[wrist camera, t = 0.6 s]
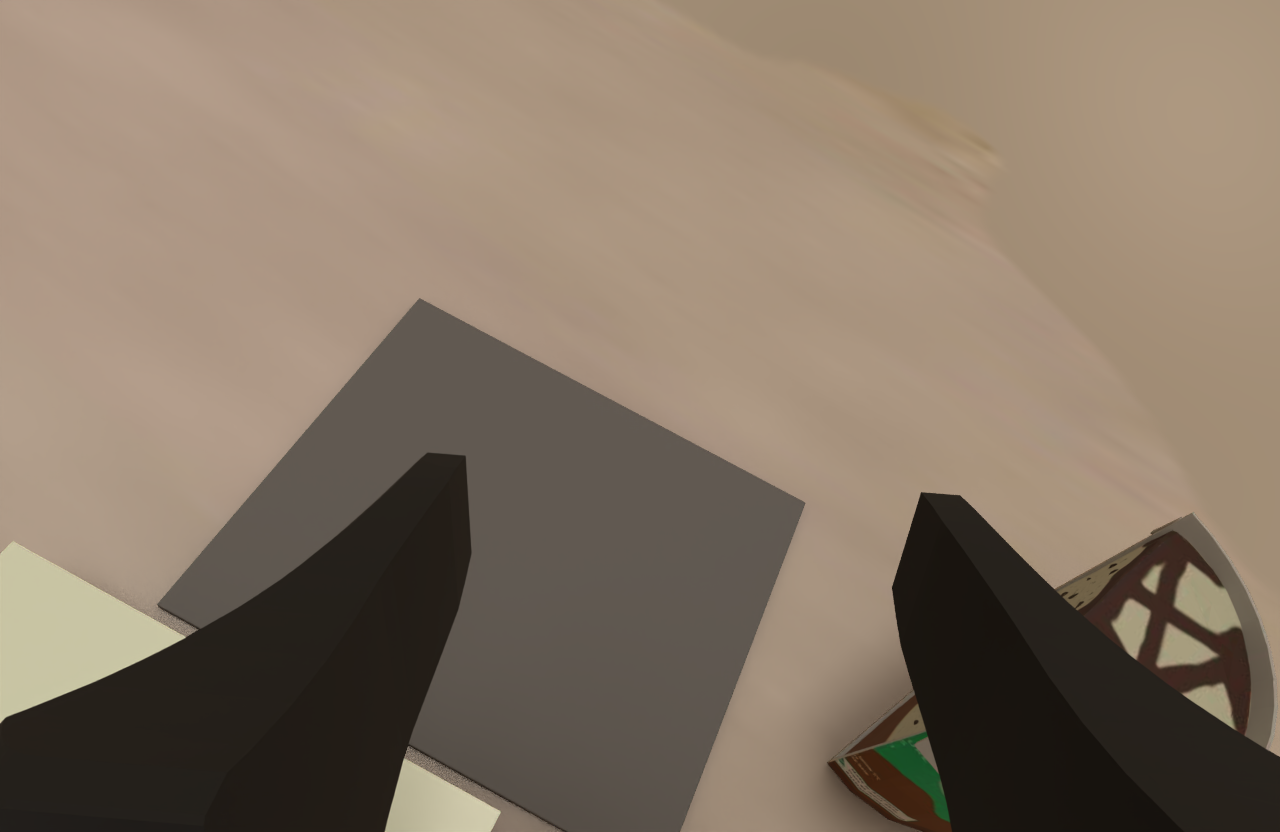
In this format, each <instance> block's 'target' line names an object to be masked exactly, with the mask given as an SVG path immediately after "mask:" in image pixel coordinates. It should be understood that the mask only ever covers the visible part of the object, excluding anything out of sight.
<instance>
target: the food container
mask: <svg viewBox="0 0 1280 832" xmlns="http://www.w3.org/2000/svg"><path fill="white" fill-rule="evenodd" d="M1151 534H1152V535H1151V536H1149V537H1147V538H1145V539H1143V540H1142V541H1140V542H1138V543H1136V544H1135V545H1133V546H1131V547H1129V548H1127V549H1126V550H1124V551H1122V552H1120V553H1118V554H1117V555H1115V556H1113V557H1111V558H1109V559H1108V560H1106V561H1104V562H1102V563H1101V564H1099V565H1097V566H1095V567H1093V568H1092V569H1090V570H1088V571H1086V572H1084V573H1083V574H1081V575H1079V576H1077V577H1075V578H1074V579H1072V580H1070V581H1068V582H1066V583H1065V584H1063V585H1061V586H1059V587H1058V588H1056V589H1054V590H1056V591H1057V592H1058V593H1059V594H1060V595H1061V596H1062V597H1063V598H1064V599H1065V600H1066V601H1067V602H1068V603H1070V604H1071V605H1072V606H1073V607H1074V608H1075V609H1076V610H1077V611H1078V612H1080V613H1081V614H1082V615H1083V616H1084V617H1085V618H1086V619H1088V620H1089V621H1090V622H1091V623H1092V624H1093V625H1094V626H1096V627H1097V628H1098V629H1099V630H1100V631H1101V632H1102V633H1103V634H1105V635H1106V636H1107V637H1108V638H1109V639H1111V640H1112V641H1113V642H1114V643H1115V644H1117V645H1118V646H1119V647H1120V648H1122V649H1123V650H1124V651H1125V652H1127V653H1128V654H1129V655H1130V656H1132V657H1133V658H1134V659H1136V660H1137V661H1138V662H1140V663H1141V664H1142V665H1144V666H1145V667H1146V668H1147V669H1149V670H1150V671H1151V672H1153V673H1154V674H1155V675H1157V676H1158V677H1159V678H1161V679H1162V680H1163V681H1164V682H1166V683H1167V684H1169V685H1170V686H1171V687H1173V688H1174V689H1176V690H1177V691H1178V692H1180V693H1181V694H1183V695H1184V696H1185V697H1187V698H1188V699H1190V700H1191V701H1193V702H1194V703H1196V704H1197V705H1199V706H1200V707H1202V708H1203V709H1205V710H1206V711H1208V712H1209V713H1211V714H1212V715H1214V716H1215V717H1217V718H1218V719H1220V720H1221V721H1223V722H1224V723H1226V724H1227V725H1229V726H1230V727H1232V728H1233V729H1235V730H1236V731H1238V732H1239V733H1241V734H1243V735H1244V736H1246V737H1248V738H1249V739H1251V740H1252V741H1254V742H1256V743H1257V744H1259V745H1261V746H1262V747H1264V748H1265V749H1267V750H1269V751H1270V748H1271V745H1272V741H1273V738H1274V735H1275V726H1276V718H1277V709H1278V703H1277V680H1276V673H1275V668H1274V663H1273V657H1272V652H1271V647H1270V644H1269V641H1268V638H1267V635H1266V632H1265V629H1264V626H1263V622H1262V619H1261V617H1260V614H1259V612H1258V610H1257V608H1256V606H1255V603H1254V601H1253V599H1252V597H1251V594H1250V592H1249V590H1248V588H1247V586H1246V585H1245V583H1244V581H1243V579H1242V578H1241V576H1240V574H1239V573H1238V571H1237V569H1236V567H1235V566H1234V564H1233V562H1232V560H1231V559H1230V558H1229V556H1228V555H1227V554H1226V552H1225V551H1224V549H1223V548H1222V547H1221V545H1220V544H1219V543H1218V541H1217V540H1216V538H1215V537H1214V536H1213V534H1212V533H1211V532H1210V531H1209V530H1208V529H1207V527H1206V526H1205V525H1204V524H1203V523H1202V522H1201V520H1200V519H1199V518H1198V517H1197V516H1196V515H1195V514H1194V512H1193V513H1191V514H1189V515H1187V516H1185V517H1183V518H1182V517H1180V518H1178V519H1176V520H1174V521H1172V522H1170V523H1168V524H1166V525H1164V526H1162V527H1160V528H1158V529H1155V530H1153V531H1152V532H1151ZM827 763H828V764H829V766H830V767H831V768H832V769H833V771H834V772H835V773H836V774H837V775H838V777H839V778H840V779H841V780H842V782H843V783H844V784H845V785H846V786H847V788H848V789H849V790H850V791H851V792H852V793H854V794H855V795H856V796H858V797H859V798H860V799H862V800H863V801H864V802H866V803H867V804H868V805H870V806H871V807H872V808H874V809H875V810H876V811H878V812H879V813H880V814H882V815H883V816H884V817H886V818H887V819H889V820H892V821H895V822H897V823H900V824H903V825H906V826H909V827H911V828H914V829H917V830H920V831H923V832H952V829H951V824H950V819H949V814H948V808H947V803H946V799H945V795H944V791H943V787H942V783H941V780H940V776H939V772H938V769H937V765H936V762H935V759H934V755H933V752H932V749H931V746H930V742H929V739H928V736H927V732H926V729H925V726H924V722H923V719H922V716H921V712H920V709H919V706H918V703H917V699H916V696H915V693H914V690H912V691H911V692H910V693H909V694H908V695H906V696H905V697H904V698H903V699H902V700H901V701H899V702H898V703H897V704H896V705H895V706H894V707H892V708H891V709H890V710H889V711H888V712H886V713H885V714H884V715H883V716H882V717H881V718H879V719H878V720H877V721H876V722H875V723H873V724H872V725H871V726H870V727H869V728H868V729H866V730H865V731H864V732H863V733H862V734H860V735H859V736H858V737H857V738H856V739H855V740H853V741H852V742H851V743H850V744H849V745H848V746H846V747H845V748H844V749H843V750H842V751H840V752H839V753H838V754H837V755H836V756H835V757H833V758H832V759H831V760H830V761H829V762H827Z"/></svg>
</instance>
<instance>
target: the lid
mask: <svg viewBox="0 0 1280 832" xmlns="http://www.w3.org/2000/svg"><path fill="white" fill-rule="evenodd" d="M184 638H186V637H185V636H183V635H181V634H179V633H178V632H176V631H174V630H172V629H170V628H169V627H167V626H165V625H163V624H161V623H160V622H158V621H156V620H154V619H152V618H150V617H149V616H147V615H145V614H143V613H141V612H140V611H138V610H136V609H134V608H132V607H131V606H129V605H127V604H125V603H123V602H122V601H120V600H118V599H116V598H114V597H113V596H111V595H109V594H107V593H105V592H104V591H102V590H100V589H98V588H96V587H95V586H93V585H91V584H89V583H87V582H85V581H84V580H82V579H80V578H78V577H76V576H75V575H73V574H71V573H69V572H67V571H66V570H64V569H62V568H60V567H58V566H57V565H55V564H53V563H51V562H49V561H48V560H46V559H44V558H42V557H40V556H39V555H37V554H35V553H33V552H31V551H30V550H28V549H26V548H24V547H22V546H21V545H19V544H17V543H15V542H12V543H11V544H10V545H9V546H8V547H7V548H6V549H5V550H3V551H2V552H1V553H0V723H1V722H2V721H3V720H4V719H5V717H7V716H10V715H13V714H15V713H18V712H21V711H23V710H26V709H29V708H31V707H33V706H36V705H38V704H41V703H43V702H46V701H48V700H51V699H53V698H56V697H58V696H61V695H63V694H66V693H68V692H71V691H73V690H76V689H78V688H81V687H83V686H86V685H88V684H90V683H93V682H95V681H97V680H99V679H102V678H104V677H106V676H108V675H111V674H113V673H115V672H117V671H119V670H121V669H124V668H126V667H128V666H130V665H132V664H134V663H136V662H138V661H141V660H143V659H145V658H147V657H149V656H151V655H153V654H155V653H157V652H159V651H161V650H163V649H165V648H167V647H169V646H171V645H173V644H174V643H176V642H178V641H180V640H182V639H184ZM500 813H501V811H499V810H497V809H495V808H493V807H492V806H490V805H488V804H486V803H484V802H483V801H481V800H479V799H477V798H475V797H474V796H472V795H470V794H468V793H466V792H465V791H463V790H461V789H459V788H457V787H456V786H454V785H452V784H450V783H448V782H447V781H445V780H443V779H441V778H439V777H438V776H436V775H434V774H432V773H430V772H428V771H427V770H425V769H423V768H421V767H419V766H418V765H416V764H414V763H412V762H410V761H409V760H407V759H405V758H404V760H403V764H402V768H401V771H400V775H399V779H398V783H397V786H396V790H395V794H394V798H393V802H392V805H391V809H390V813H389V817H388V821H387V825H386V829H385V832H491V830H492V828H493V826H494V824H495V822H496V820H497V818H498V817H499V815H500Z"/></svg>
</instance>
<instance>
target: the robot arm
mask: <svg viewBox="0 0 1280 832" xmlns="http://www.w3.org/2000/svg"><path fill="white" fill-rule="evenodd" d="M471 554H472V550H471V534H470V517H469V501H468V485H467V468H466V455H453V454H441V453H429V452H428V453H426V454H425V455H424V456H423V457H421V458H420V459H419V460H418V461H417V462H416V463H415V464H414V465H413V466H412V467H411V468H410V469H409V470H408V471H407V472H406V473H404V474H403V475H402V476H401V477H400V478H399V479H398V480H397V481H396V482H395V483H394V484H393V485H392V486H391V487H390V488H389V489H388V490H387V491H386V492H385V493H384V494H382V495H381V496H380V497H379V498H378V499H377V500H376V501H375V502H374V503H373V504H372V505H371V506H369V507H368V508H367V509H366V510H365V511H364V512H363V513H362V514H361V515H359V516H358V517H357V518H356V519H355V520H354V521H353V522H352V523H350V524H349V525H348V526H347V527H346V528H345V529H344V530H342V531H341V532H340V533H339V534H338V535H337V536H335V537H334V538H333V539H332V540H330V541H329V542H328V543H327V544H325V545H324V546H323V547H322V548H320V549H319V550H318V551H317V552H316V553H314V554H313V555H312V556H311V557H309V558H308V559H307V560H306V561H304V562H303V563H302V564H301V565H299V566H298V567H297V568H295V569H294V570H293V571H291V572H290V573H288V574H287V575H286V576H284V577H283V578H282V579H280V580H279V581H277V582H276V583H275V584H273V585H272V586H270V587H269V588H267V589H265V590H264V591H262V592H261V593H259V594H258V595H256V596H255V597H253V598H252V599H250V600H249V601H247V602H246V603H244V604H243V605H241V606H239V607H238V608H236V609H234V610H233V611H231V612H229V613H227V614H226V615H224V616H222V617H220V618H219V619H217V620H215V621H213V622H212V623H210V624H208V625H206V626H205V627H203V628H201V629H200V630H198V631H196V632H194V633H193V634H191V635H189V636H187V637H186V638H184V639H182V640H180V641H178V642H176V643H174V644H173V645H171V646H169V647H167V648H165V649H163V650H161V651H159V652H157V653H155V654H153V655H151V656H149V657H147V658H145V659H143V660H141V661H138V662H136V663H134V664H132V665H130V666H128V667H126V668H124V669H121V670H119V671H117V672H115V673H113V674H111V675H108V676H106V677H104V678H102V679H99V680H97V681H95V682H93V683H90V684H88V685H86V686H83V687H81V688H78V689H76V690H73V691H71V692H68V693H66V694H63V695H61V696H58V697H56V698H53V699H51V700H48V701H46V702H43V703H41V704H38V705H36V706H33V707H31V708H29V709H26V710H23V711H21V712H18V713H15V714H13V715H10V716H7V717H5V719H4V720H3V721H2V722H1V723H0V832H385V829H386V825H387V821H388V817H389V813H390V809H391V805H392V802H393V798H394V794H395V790H396V786H397V783H398V779H399V775H400V771H401V768H402V764H403V760H404V756H405V753H406V750H407V747H408V744H409V741H410V738H411V735H412V732H413V729H414V726H415V724H416V721H417V719H418V716H419V713H420V711H421V708H422V705H423V703H424V700H425V697H426V695H427V692H428V690H429V687H430V684H431V682H432V679H433V676H434V674H435V671H436V668H437V666H438V663H439V660H440V658H441V655H442V653H443V650H444V647H445V644H446V642H447V639H448V636H449V634H450V631H451V628H452V626H453V623H454V620H455V617H456V615H457V612H458V609H459V605H460V601H461V597H462V593H463V589H464V585H465V581H466V576H467V572H468V567H469V563H470V558H471ZM892 591H893V598H894V605H895V613H896V620H897V626H898V631H899V637H900V643H901V648H902V651H903V655H904V658H905V662H906V665H907V669H908V672H909V676H910V679H911V682H912V686H913V689H914V693H915V696H916V699H917V703H918V706H919V709H920V712H921V716H922V719H923V722H924V726H925V729H926V732H927V736H928V739H929V742H930V746H931V749H932V752H933V755H934V759H935V762H936V765H937V769H938V772H939V776H940V780H941V783H942V787H943V791H944V795H945V799H946V803H947V808H948V814H949V819H950V824H951V829H952V832H1280V757H1279V756H1277V755H1275V754H1274V753H1272V752H1270V751H1269V750H1267V749H1265V748H1264V747H1262V746H1261V745H1259V744H1257V743H1256V742H1254V741H1252V740H1251V739H1249V738H1248V737H1246V736H1244V735H1243V734H1241V733H1239V732H1238V731H1236V730H1235V729H1233V728H1232V727H1230V726H1229V725H1227V724H1226V723H1224V722H1223V721H1221V720H1220V719H1218V718H1217V717H1215V716H1214V715H1212V714H1211V713H1209V712H1208V711H1206V710H1205V709H1203V708H1202V707H1200V706H1199V705H1197V704H1196V703H1194V702H1193V701H1191V700H1190V699H1188V698H1187V697H1185V696H1184V695H1183V694H1181V693H1180V692H1178V691H1177V690H1176V689H1174V688H1173V687H1171V686H1170V685H1169V684H1167V683H1166V682H1164V681H1163V680H1162V679H1161V678H1159V677H1158V676H1157V675H1155V674H1154V673H1153V672H1151V671H1150V670H1149V669H1147V668H1146V667H1145V666H1144V665H1142V664H1141V663H1140V662H1138V661H1137V660H1136V659H1134V658H1133V657H1132V656H1130V655H1129V654H1128V653H1127V652H1125V651H1124V650H1123V649H1122V648H1120V647H1119V646H1118V645H1117V644H1115V643H1114V642H1113V641H1112V640H1111V639H1109V638H1108V637H1107V636H1106V635H1105V634H1103V633H1102V632H1101V631H1100V630H1099V629H1098V628H1097V627H1096V626H1094V625H1093V624H1092V623H1091V622H1090V621H1089V620H1088V619H1086V618H1085V617H1084V616H1083V615H1082V614H1081V613H1080V612H1078V611H1077V610H1076V609H1075V608H1074V607H1073V606H1072V605H1071V604H1070V603H1068V602H1067V601H1066V600H1065V599H1064V598H1063V597H1062V596H1061V595H1060V594H1059V593H1058V592H1057V591H1056V590H1054V589H1053V588H1052V587H1051V586H1050V585H1049V584H1048V583H1047V582H1046V581H1045V580H1044V579H1043V578H1042V577H1041V576H1040V575H1039V574H1038V573H1037V572H1036V571H1035V570H1034V569H1033V568H1032V567H1031V566H1030V565H1029V564H1028V563H1027V562H1026V561H1025V560H1024V559H1023V558H1022V557H1021V556H1020V555H1019V554H1018V553H1017V552H1016V551H1015V550H1014V549H1013V548H1012V547H1011V546H1010V545H1009V544H1008V543H1007V542H1006V541H1005V540H1004V539H1003V538H1002V537H1001V536H1000V535H999V534H998V533H997V532H996V531H995V530H994V529H993V528H992V527H991V526H990V525H989V524H988V522H987V521H986V520H985V519H984V518H983V517H982V516H981V515H980V514H979V513H978V512H977V511H976V510H975V509H974V508H973V507H972V506H971V505H970V504H969V503H968V502H967V501H965V500H964V499H963V498H962V497H961V496H960V495H948V494H936V493H923V492H921V495H920V498H919V501H918V504H917V508H916V511H915V514H914V518H913V521H912V524H911V527H910V531H909V534H908V537H907V540H906V544H905V547H904V550H903V553H902V557H901V560H900V563H899V567H898V570H897V573H896V576H895V580H894V583H893V586H892Z"/></svg>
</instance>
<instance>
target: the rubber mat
mask: <svg viewBox="0 0 1280 832" xmlns="http://www.w3.org/2000/svg"><path fill="white" fill-rule="evenodd" d="M428 452H429V453H441V454H453V455H466V468H467V485H468V501H469V517H470V534H471V550H472V554H471V558H470V563H469V567H468V572H467V576H466V581H465V585H464V589H463V593H462V597H461V601H460V605H459V609H458V612H457V615H456V617H455V620H454V623H453V626H452V628H451V631H450V634H449V636H448V639H447V642H446V644H445V647H444V650H443V653H442V655H441V658H440V660H439V663H438V666H437V668H436V671H435V674H434V676H433V679H432V682H431V684H430V687H429V690H428V692H427V695H426V697H425V700H424V703H423V705H422V708H421V711H420V713H419V716H418V719H417V721H416V724H415V726H414V729H413V732H412V735H411V738H410V741H409V744H408V745H409V746H411V747H413V748H414V749H416V750H418V751H420V752H422V753H423V754H425V755H427V756H429V757H431V758H432V759H434V760H436V761H438V762H440V763H441V764H443V765H445V766H447V767H449V768H450V769H452V770H454V771H456V772H458V773H460V774H461V775H463V776H465V777H467V778H469V779H470V780H472V781H474V782H476V783H478V784H479V785H481V786H483V787H485V788H487V789H488V790H490V791H492V792H494V793H496V794H497V795H499V796H501V797H503V798H505V799H507V800H508V801H510V802H512V803H514V804H516V805H517V806H519V807H521V808H523V809H525V810H526V811H528V812H530V813H532V814H534V815H535V816H537V817H539V818H541V819H543V820H544V821H546V822H548V823H550V824H552V825H554V826H555V827H557V828H559V829H561V830H563V831H564V832H680V830H681V828H682V825H683V822H684V820H685V817H686V815H687V812H688V809H689V807H690V804H691V801H692V799H693V796H694V794H695V791H696V788H697V786H698V783H699V781H700V778H701V775H702V773H703V770H704V767H705V765H706V762H707V760H708V757H709V754H710V752H711V749H712V746H713V744H714V741H715V739H716V736H717V733H718V731H719V728H720V726H721V723H722V720H723V718H724V715H725V712H726V710H727V707H728V705H729V702H730V699H731V697H732V694H733V691H734V689H735V686H736V684H737V681H738V678H739V676H740V673H741V670H742V668H743V665H744V663H745V660H746V657H747V655H748V652H749V650H750V647H751V644H752V642H753V639H754V636H755V634H756V631H757V629H758V626H759V623H760V621H761V618H762V615H763V613H764V610H765V608H766V605H767V602H768V600H769V597H770V595H771V592H772V589H773V587H774V584H775V581H776V579H777V576H778V574H779V571H780V568H781V566H782V563H783V560H784V558H785V555H786V553H787V550H788V547H789V545H790V542H791V539H792V537H793V534H794V532H795V529H796V526H797V524H798V521H799V519H800V516H801V513H802V511H803V508H804V505H805V502H803V501H801V500H799V499H797V498H796V497H794V496H792V495H790V494H788V493H786V492H784V491H782V490H780V489H779V488H777V487H775V486H773V485H771V484H769V483H767V482H765V481H763V480H762V479H760V478H758V477H756V476H754V475H752V474H750V473H748V472H746V471H745V470H743V469H741V468H739V467H737V466H735V465H733V464H731V463H729V462H728V461H726V460H724V459H722V458H720V457H718V456H716V455H714V454H712V453H711V452H709V451H707V450H705V449H703V448H701V447H699V446H697V445H695V444H694V443H692V442H690V441H688V440H686V439H684V438H682V437H680V436H679V435H677V434H675V433H673V432H671V431H669V430H667V429H665V428H663V427H662V426H660V425H658V424H656V423H654V422H652V421H650V420H648V419H646V418H645V417H643V416H641V415H639V414H637V413H635V412H633V411H631V410H629V409H628V408H626V407H624V406H622V405H620V404H618V403H616V402H614V401H612V400H611V399H609V398H607V397H605V396H603V395H601V394H599V393H597V392H595V391H594V390H592V389H590V388H588V387H586V386H584V385H582V384H580V383H578V382H577V381H575V380H573V379H571V378H569V377H567V376H565V375H563V374H561V373H560V372H558V371H556V370H554V369H552V368H550V367H548V366H546V365H545V364H543V363H541V362H539V361H537V360H535V359H533V358H531V357H529V356H528V355H526V354H524V353H522V352H520V351H518V350H516V349H514V348H512V347H511V346H509V345H507V344H505V343H503V342H501V341H499V340H497V339H495V338H494V337H492V336H490V335H488V334H486V333H484V332H482V331H480V330H478V329H477V328H475V327H473V326H471V325H469V324H467V323H465V322H463V321H461V320H460V319H458V318H456V317H454V316H452V315H450V314H448V313H446V312H444V311H443V310H441V309H439V308H437V307H435V306H433V305H431V304H429V303H427V302H426V301H424V300H422V299H420V298H419V299H418V301H417V302H416V303H415V304H414V305H413V306H412V308H411V309H410V310H409V311H408V312H407V313H406V315H405V316H404V317H403V318H402V319H401V320H400V322H399V323H398V324H397V325H396V326H395V327H394V329H393V330H392V331H391V332H390V333H389V334H388V336H387V337H386V338H385V339H384V340H383V341H382V343H381V344H380V345H379V346H378V347H377V348H376V350H375V351H374V352H373V353H372V354H371V355H370V357H369V358H368V359H367V360H366V361H365V362H364V364H363V365H362V366H361V367H360V368H359V369H358V371H357V372H356V373H355V374H354V375H353V376H352V378H351V379H350V380H349V381H348V382H347V383H346V385H345V386H344V387H343V388H342V389H341V390H340V392H339V393H338V394H337V395H336V396H335V397H334V399H333V400H332V401H331V402H330V403H329V404H328V406H327V407H326V408H325V409H324V410H323V411H322V413H321V414H320V415H319V416H318V417H317V418H316V420H315V421H314V422H313V423H312V424H311V425H310V427H309V428H308V429H307V430H306V431H305V432H304V434H303V435H302V436H301V437H300V438H299V439H298V441H297V442H296V443H295V444H294V445H293V446H292V448H291V449H290V450H289V451H288V452H287V453H286V455H285V456H284V457H283V458H282V459H281V460H280V462H279V463H278V464H277V465H276V466H275V467H274V469H273V470H272V471H271V472H270V473H269V474H268V476H267V477H266V478H265V479H264V480H263V481H262V483H261V484H260V485H259V486H258V487H257V488H256V490H255V491H254V492H253V493H252V494H251V495H250V497H249V498H248V499H247V500H246V501H245V502H244V504H243V505H242V506H241V507H240V508H239V509H238V511H237V512H236V513H235V514H234V515H233V516H232V518H231V519H230V520H229V521H228V522H227V523H226V525H225V526H224V527H223V528H222V529H221V530H220V532H219V533H218V534H217V535H216V536H215V537H214V539H213V540H212V541H211V542H210V543H209V544H208V546H207V547H206V548H205V549H204V550H203V551H202V553H201V554H200V555H199V556H198V557H197V558H196V560H195V561H194V562H193V563H192V564H191V566H190V567H189V568H188V569H187V570H186V571H185V573H184V574H183V575H182V576H181V577H180V578H179V580H178V581H177V582H176V583H175V584H174V585H173V587H172V588H171V589H170V590H169V591H168V592H167V594H166V595H165V596H164V597H163V598H162V599H161V601H160V602H159V603H158V604H157V605H158V606H159V608H161V609H163V610H165V611H167V612H168V613H170V614H172V615H174V616H176V617H178V618H179V619H181V620H183V621H185V622H187V623H188V624H190V625H192V626H194V627H196V628H197V629H199V630H200V629H201V628H203V627H205V626H206V625H208V624H210V623H212V622H213V621H215V620H217V619H219V618H220V617H222V616H224V615H226V614H227V613H229V612H231V611H233V610H234V609H236V608H238V607H239V606H241V605H243V604H244V603H246V602H247V601H249V600H250V599H252V598H253V597H255V596H256V595H258V594H259V593H261V592H262V591H264V590H265V589H267V588H269V587H270V586H272V585H273V584H275V583H276V582H277V581H279V580H280V579H282V578H283V577H284V576H286V575H287V574H288V573H290V572H291V571H293V570H294V569H295V568H297V567H298V566H299V565H301V564H302V563H303V562H304V561H306V560H307V559H308V558H309V557H311V556H312V555H313V554H314V553H316V552H317V551H318V550H319V549H320V548H322V547H323V546H324V545H325V544H327V543H328V542H329V541H330V540H332V539H333V538H334V537H335V536H337V535H338V534H339V533H340V532H341V531H342V530H344V529H345V528H346V527H347V526H348V525H349V524H350V523H352V522H353V521H354V520H355V519H356V518H357V517H358V516H359V515H361V514H362V513H363V512H364V511H365V510H366V509H367V508H368V507H369V506H371V505H372V504H373V503H374V502H375V501H376V500H377V499H378V498H379V497H380V496H381V495H382V494H384V493H385V492H386V491H387V490H388V489H389V488H390V487H391V486H392V485H393V484H394V483H395V482H396V481H397V480H398V479H399V478H400V477H401V476H402V475H403V474H404V473H406V472H407V471H408V470H409V469H410V468H411V467H412V466H413V465H414V464H415V463H416V462H417V461H418V460H419V459H420V458H421V457H423V456H424V455H425V454H426V453H428Z"/></svg>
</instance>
